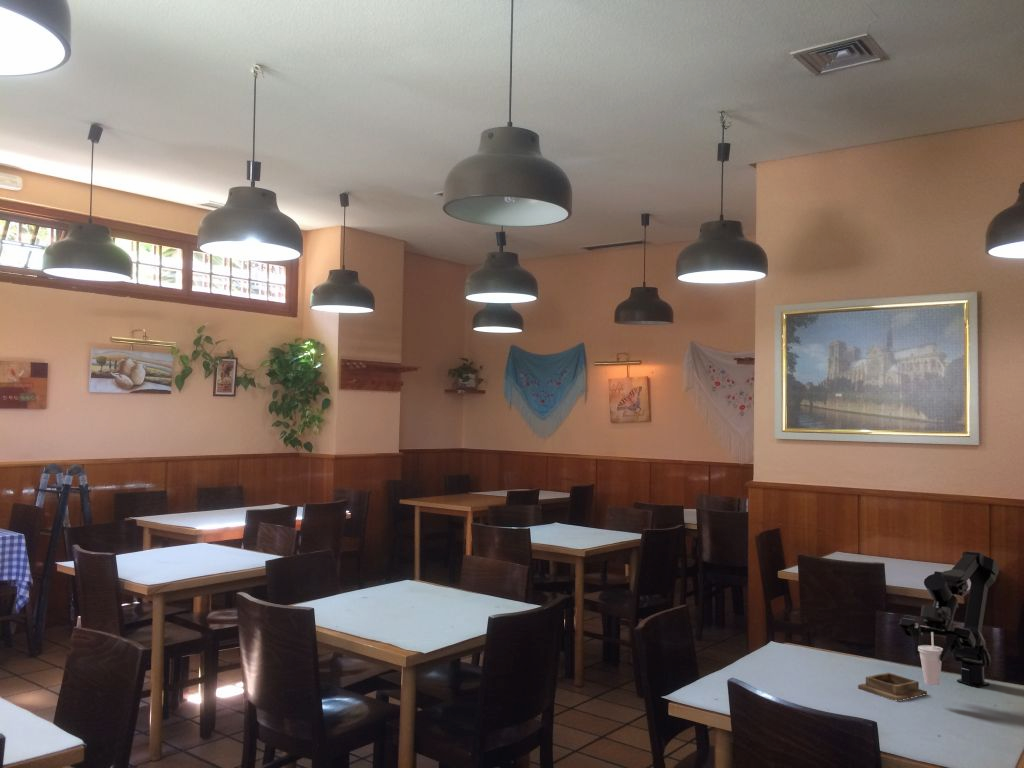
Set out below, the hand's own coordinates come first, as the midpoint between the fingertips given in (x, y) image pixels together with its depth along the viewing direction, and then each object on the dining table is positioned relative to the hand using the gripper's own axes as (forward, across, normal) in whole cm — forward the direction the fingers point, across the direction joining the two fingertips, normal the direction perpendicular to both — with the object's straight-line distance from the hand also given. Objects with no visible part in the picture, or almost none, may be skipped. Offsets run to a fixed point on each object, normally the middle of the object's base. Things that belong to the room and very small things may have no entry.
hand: (928, 658), depth 218 cm
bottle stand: (+6, -13, +13) cm, 19 cm away
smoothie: (+4, 0, +6) cm, 7 cm away
